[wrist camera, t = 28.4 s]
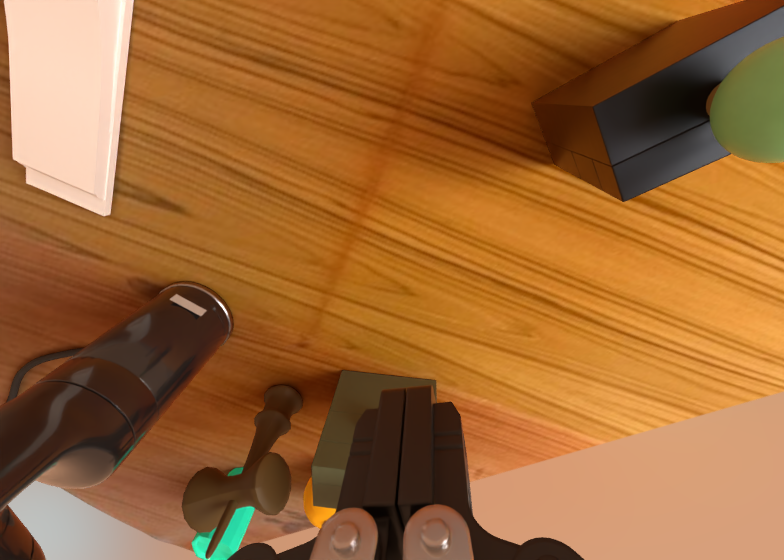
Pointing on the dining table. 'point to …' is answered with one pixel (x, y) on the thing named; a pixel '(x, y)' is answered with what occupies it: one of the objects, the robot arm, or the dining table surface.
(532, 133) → the dining table surface
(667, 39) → the dark block with knob
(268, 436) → the kendama
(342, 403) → the olive block with peg
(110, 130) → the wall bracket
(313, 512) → the orange fruit
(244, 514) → the candle
